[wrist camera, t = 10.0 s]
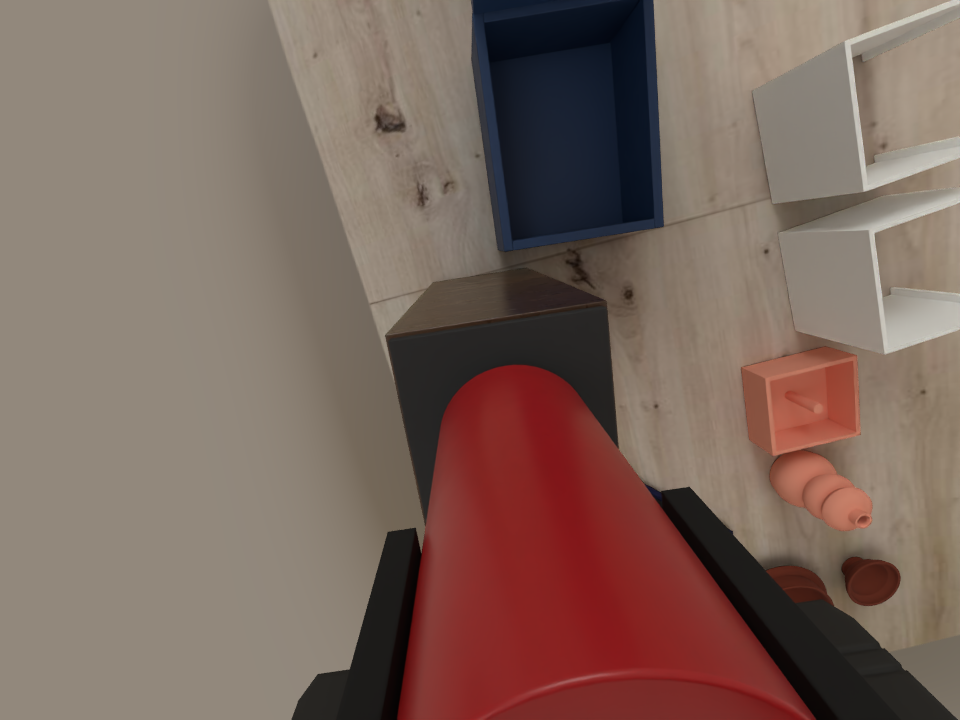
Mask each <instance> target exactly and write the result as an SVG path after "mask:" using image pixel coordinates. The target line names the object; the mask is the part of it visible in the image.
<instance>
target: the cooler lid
mask: <svg viewBox="0 0 960 720" xmlns="http://www.w3.org/2000/svg"><path fill="white" fill-rule="evenodd" d="M554 1H560V0H471V4H472V12H473V15H475V14H481V13H487V12H493V11H499V10H505V9H511V8H517V7H524V6H530V5H536V4H542V3H548V2H554Z"/></svg>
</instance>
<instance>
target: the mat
mask: <svg viewBox="0 0 960 720" xmlns="http://www.w3.org/2000/svg"><path fill="white" fill-rule="evenodd" d="M388 344H389V348H390V353H391V358H392V363H393V368H394V372H395V377H396V382H397V387H398V392H399V396H400V401H401V406H402V411H403V415H404V420H405V425H406V430H407V435H408V439H409V444H410V449H411V454H412V459H413V463H414V468H415V473H416V478H417V482H418V487H419V492H420V497H421V502H422V506H423V511H424V516H425V521H426V520H427V514H428V507H429V500H430V494H431V487H432V480H433V473H434V467H435V460H436V453H437V447H438V440H439V433H440V427H441V421H442V418H443V415H444V412H445V410H446V408H447V406H448V404H449V402H450V401H451V399H452V398H453V396H454V395H455V394H456V393H457V391H458V390H459V389H460V388H461V387H462V386H463V385H465V384H466V383H467V382H468V381H469V380H471V379H472V378H474V377H475V376H477V375H479V374H481V373H483V372H485V371H488V370H491V369H493V368H497V367H501V366H507V365H528V366H534V367H538V368H542V369H545V370H547V371H550V372H552V373H554V374H556V375H557V376H559V377H561V378H562V379H564V380H565V381H566V382H567V383H568V384H570V385H571V386H572V387H573V389H574V390H575V391H576V392H577V393H578V395H579V396H580V397H581V399H582V400H583V401H584V403H585V404H586V405H587V407H588V408H589V410H590V411H591V412H592V414H593V415H594V416H595V418H596V419H597V420H598V422H599V423H600V425H601V426H602V427H603V429H604V430H605V431H606V433H607V434H608V435H609V437H610V438H611V440H612V441H613V442H614V444H615V445H616V446H617V448H618V441H617V429H616V417H615V404H614V392H613V380H612V367H611V355H610V342H609V330H608V318H607V308H606V307H604V306H598V307H591V308H585V309H578V310H572V311H565V312H559V313H552V314H546V315H539V316H533V317H527V318H520V319H514V320H507V321H501V322H494V323H488V324H481V325H475V326H468V327H462V328H456V329H449V330H443V331H436V332H430V333H423V334H417V335H410V336H404V337H397V338H391V339H390V340H389V341H388Z"/></svg>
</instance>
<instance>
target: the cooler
mask: <svg viewBox="0 0 960 720" xmlns="http://www.w3.org/2000/svg"><path fill="white" fill-rule="evenodd" d="M471 60H472V67H473V74H474V82H475V89H476V96H477V103H478V111H479V118H480V125H481V132H482V140H483V147H484V154H485V161H486V169H487V176H488V183H489V190H490V197H491V205H492V212H493V219H494V226H495V234H496V241H497V248H498V250H500V251H504V252H507V251H513V250H520V249H526V248H532V247H539V246H545V245H551V244H558V243H564V242H571V241H577V240H583V239H590V238H596V237H602V236H609V235H615V234H622V233H628V232H634V231H641V230H647V229H653V228H660V227H664V220H663V198H662V176H661V155H660V133H659V112H658V90H657V69H656V47H655V25H654V4H653V0H560V1H554V2H548V3H542V4H536V5H530V6H524V7H517V8H511V9H505V10H499V11H493V12H487V13H481V14H475V15H473V13H472V57H471Z"/></svg>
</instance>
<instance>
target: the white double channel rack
mask: <svg viewBox="0 0 960 720" xmlns="http://www.w3.org/2000/svg"><path fill="white" fill-rule="evenodd" d="M959 18H960V0H952V1H949V2H946V3H944V4H941V5H938V6H936V7H933V8H930V9H928V10H925V11H923V12H920V13H917V14H915V15H912V16H909V17H907V18H904V19H901V20H899V21H896V22H894V23H891V24H888V25H886V26H883V27H880V28H878V29H875V30H873V31H870V32H867V33H865V34H862V35H859V36H857V37H854V38H851V39H849V40H846V41H844V42H842V43H840V44H838V45H836V46H834V47H833V48H831V49H829V50H827V51H825V52H823V53H821V54H820V55H818V56H816V57H814V58H812V59H810V60H808V61H807V62H805V63H803V64H801V65H799V66H797V67H795V68H794V69H792V70H790V71H788V72H786V73H784V74H782V75H781V76H779V77H777V78H775V79H773V80H771V81H769V82H768V83H766V84H764V85H762V86H760V87H758V88H756V89H755V90H753V91H752V94H753V99H754V105H755V110H756V116H757V121H758V127H759V133H760V138H761V144H762V149H763V155H764V160H765V166H766V172H767V177H768V183H769V188H770V194H771V199H772V204H777V203H784V202H792V201H800V200H807V199H815V198H823V197H830V196H838V195H846V194H853V193H861V192H866V191H868V190H871V189H874V188H877V187H880V186H882V185H885V184H888V183H891V182H894V181H896V180H899V179H902V178H905V177H907V176H910V175H913V174H916V173H919V172H921V171H924V170H927V169H930V168H933V167H935V166H938V165H941V164H944V163H947V162H949V161H952V160H955V159H958V158H960V136H959V137H954V138H950V139H945V140H941V141H936V142H931V143H927V144H922V145H918V146H913V147H909V148H904V149H899V150H895V151H890V152H886V153H881V154H877V155H874V161H875V163H873V164H871V165H868V166H866V165H865V157H864V149H863V141H862V133H861V125H860V117H859V109H858V101H857V93H856V85H855V77H854V70H853V62H852V58H853V57H855V56H858V55H861V54H862V62H865V61H867V60H869V59H872V58H874V57H876V56H878V55H880V54H883V53H885V52H887V51H889V50H891V49H893V48H896V47H898V46H900V45H902V44H904V43H907V42H909V41H911V40H913V39H915V38H917V37H920V36H922V35H924V34H926V33H928V32H931V31H933V30H935V29H937V28H939V27H941V26H944V25H946V24H948V23H950V22H952V21H954V20H957V19H959ZM958 203H960V187H953V188H945V189H936V190H928V191H919V192H910V193H902V194H893V195H885V196H880V197H878V198H875V199H872V200H869V201H866V202H864V203H861V204H858V205H855V206H852V207H850V208H847V209H844V210H841V211H838V212H836V213H833V214H830V215H827V216H824V217H822V218H819V219H816V220H813V221H810V222H808V223H805V224H802V225H799V226H796V227H794V228H791V229H788V230H785V231H782V232H780V233H778V238H779V244H780V249H781V255H782V261H783V266H784V272H785V277H786V283H787V288H788V294H789V300H790V305H791V311H792V316H793V322H794V327H795V331H798V332H801V333H805V334H809V335H813V336H816V337H820V338H824V339H828V340H832V341H835V342H839V343H843V344H847V345H850V346H854V347H858V348H862V349H865V350H869V351H873V352H877V353H880V354H884V355H885V354H888V353H891V352H894V351H897V350H900V349H903V348H906V347H909V346H912V345H915V344H918V343H921V342H924V341H927V340H930V339H933V338H936V337H939V336H942V335H945V334H948V333H951V332H954V331H957V330H960V294H958V293H948V292H938V291H928V290H919V289H909V288H899V287H892V288H890V293H891V295H888V296H885V297H882V292H881V284H880V276H879V268H878V260H877V252H876V244H875V236H874V233H876V232H879V231H881V230H884V229H887V228H890V227H893V226H896V225H898V224H901V223H904V222H907V221H910V220H913V219H916V218H918V217H921V216H924V215H927V214H930V213H933V212H935V211H938V210H941V209H944V208H947V207H950V206H952V205H955V204H958Z"/></svg>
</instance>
